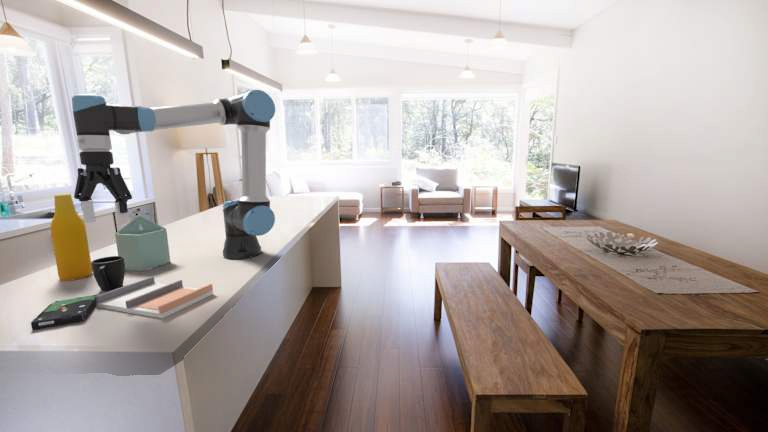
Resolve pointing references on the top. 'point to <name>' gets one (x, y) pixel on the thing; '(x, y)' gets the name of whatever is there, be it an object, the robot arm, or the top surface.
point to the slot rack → (152, 298)
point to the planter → (142, 244)
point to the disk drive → (65, 312)
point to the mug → (109, 272)
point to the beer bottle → (70, 240)
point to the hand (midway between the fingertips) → (106, 223)
